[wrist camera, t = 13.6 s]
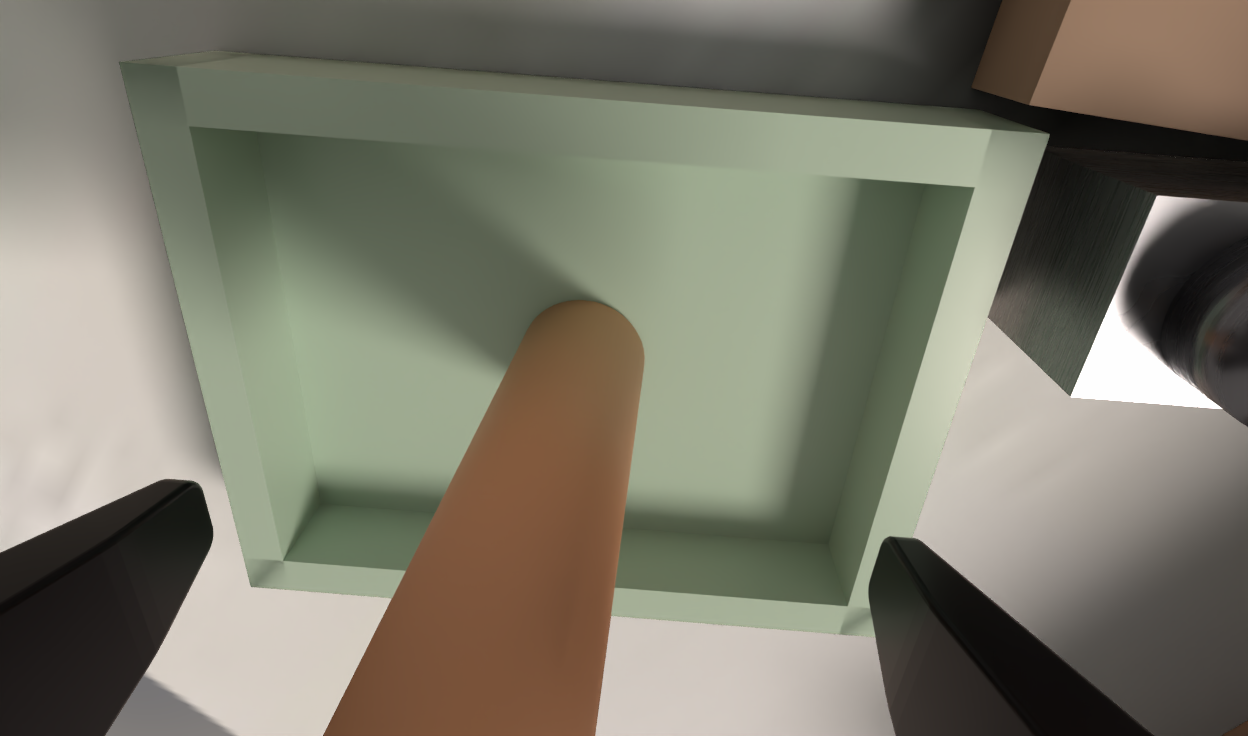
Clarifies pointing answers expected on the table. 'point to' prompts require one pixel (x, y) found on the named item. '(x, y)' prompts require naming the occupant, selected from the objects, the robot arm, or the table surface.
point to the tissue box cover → (1238, 730)
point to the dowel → (516, 552)
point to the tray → (578, 270)
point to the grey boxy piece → (1133, 278)
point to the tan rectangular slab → (1125, 60)
